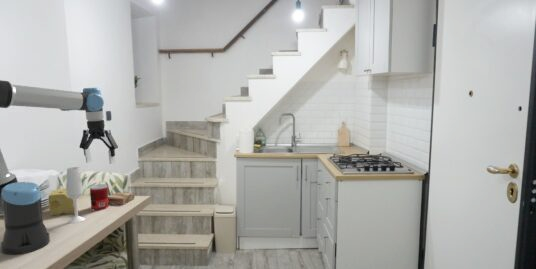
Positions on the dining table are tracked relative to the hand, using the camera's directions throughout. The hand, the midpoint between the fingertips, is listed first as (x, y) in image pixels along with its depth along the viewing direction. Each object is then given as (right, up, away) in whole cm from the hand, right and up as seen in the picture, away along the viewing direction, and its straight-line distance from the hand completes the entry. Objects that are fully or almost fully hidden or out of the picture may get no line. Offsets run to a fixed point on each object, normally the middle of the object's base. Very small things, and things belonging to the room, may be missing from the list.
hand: (100, 162), depth 170 cm
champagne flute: (-4, -25, -14) cm, 29 cm away
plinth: (+5, -22, +13) cm, 25 cm away
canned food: (-2, -23, +3) cm, 23 cm away
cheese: (-17, -24, -2) cm, 29 cm away
